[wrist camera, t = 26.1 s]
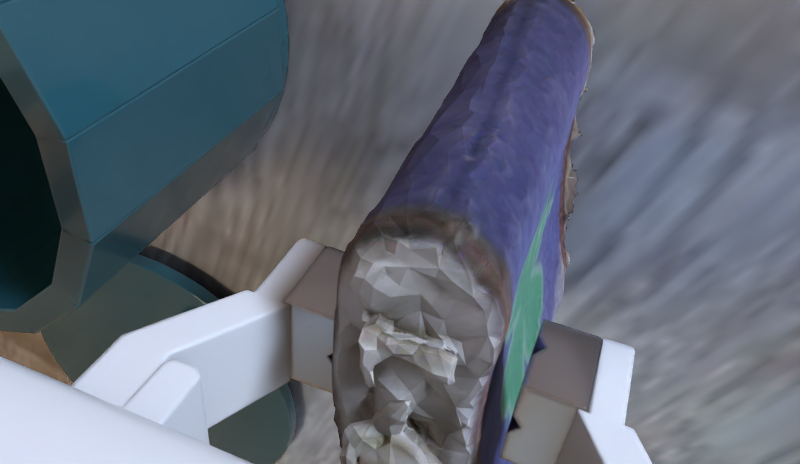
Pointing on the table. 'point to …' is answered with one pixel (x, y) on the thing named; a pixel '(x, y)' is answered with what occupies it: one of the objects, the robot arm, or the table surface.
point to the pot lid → (152, 302)
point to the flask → (464, 252)
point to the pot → (119, 131)
